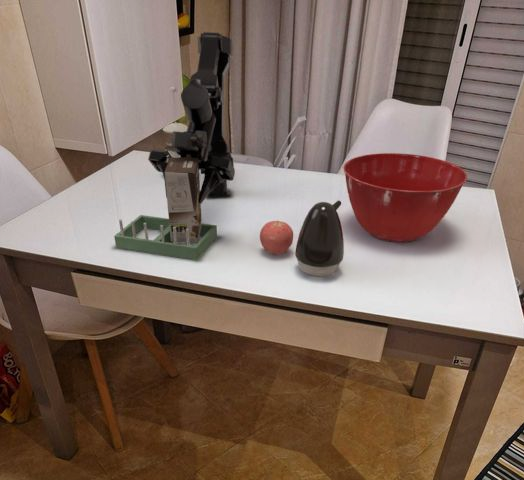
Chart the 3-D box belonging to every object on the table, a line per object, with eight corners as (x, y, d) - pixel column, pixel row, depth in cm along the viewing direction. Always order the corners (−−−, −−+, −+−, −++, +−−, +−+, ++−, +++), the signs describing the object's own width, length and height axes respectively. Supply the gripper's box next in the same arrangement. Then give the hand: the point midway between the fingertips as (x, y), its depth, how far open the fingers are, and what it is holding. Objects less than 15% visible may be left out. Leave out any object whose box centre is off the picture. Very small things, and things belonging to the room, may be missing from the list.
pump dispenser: (351, 271, 108) (361, 203, 99) (320, 287, 102) (327, 216, 93) (315, 255, 114) (321, 189, 105) (284, 270, 108) (288, 201, 99)
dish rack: (142, 226, 125) (138, 199, 121) (217, 236, 121) (216, 209, 116) (116, 248, 115) (111, 219, 111) (197, 260, 111) (195, 231, 106)
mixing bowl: (324, 244, 119) (331, 179, 109) (349, 203, 140) (356, 146, 131) (446, 265, 111) (465, 197, 102) (453, 219, 133) (469, 159, 123)
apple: (298, 253, 114) (301, 220, 109) (275, 263, 110) (276, 229, 106) (277, 242, 119) (278, 210, 114) (253, 251, 115) (254, 218, 110)
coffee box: (198, 243, 112) (194, 172, 101) (170, 242, 112) (163, 171, 101) (202, 224, 119) (199, 156, 108) (175, 224, 119) (169, 155, 108)
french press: (160, 179, 153) (150, 88, 138) (171, 167, 162) (163, 81, 147) (190, 181, 152) (184, 90, 137) (200, 169, 161) (196, 83, 146)
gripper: (146, 109, 106) (129, 178, 104) (229, 117, 102) (213, 189, 100) (165, 139, 116) (150, 201, 115) (241, 147, 113) (226, 211, 111)
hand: (183, 200), depth 110 cm, fingers closed on coffee box, 7 cm apart
